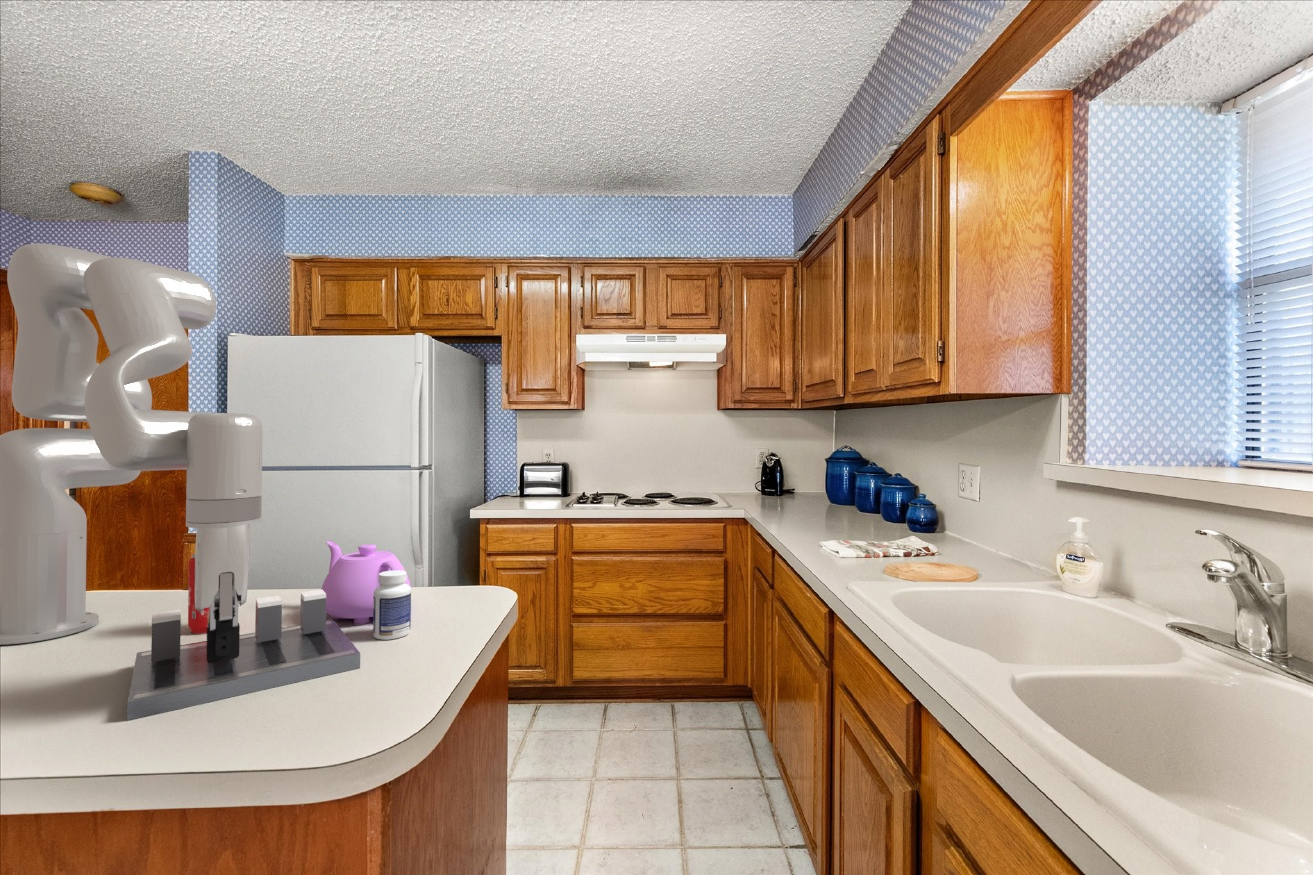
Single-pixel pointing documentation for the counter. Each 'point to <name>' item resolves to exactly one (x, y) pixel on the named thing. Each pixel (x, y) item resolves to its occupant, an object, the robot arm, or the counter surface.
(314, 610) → the breaker
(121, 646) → the counter surface
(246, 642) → the panel
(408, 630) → the pill bottle
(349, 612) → the teapot
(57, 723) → the counter surface
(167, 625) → the block
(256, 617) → the breaker
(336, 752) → the counter surface
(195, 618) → the beverage can
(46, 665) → the counter surface
